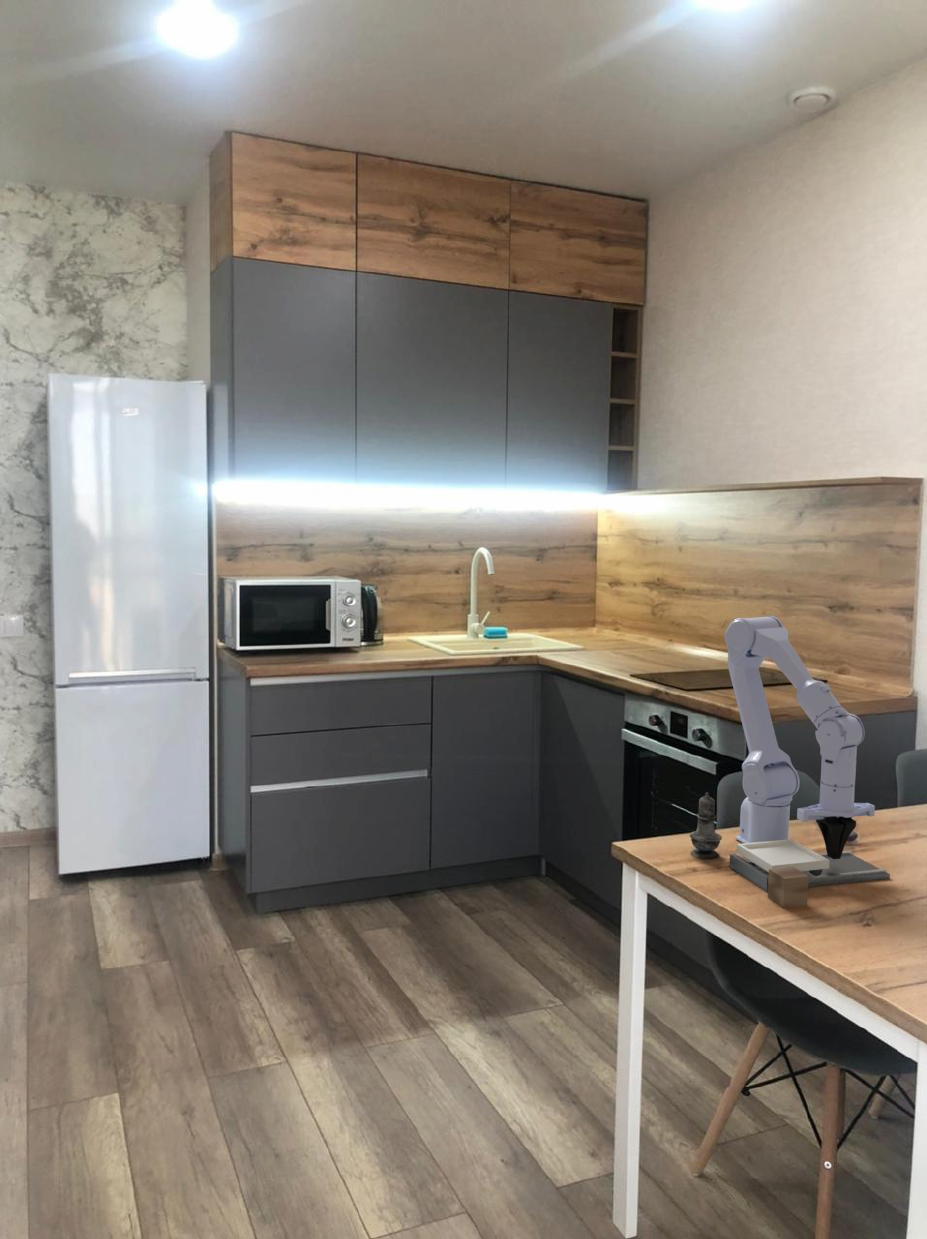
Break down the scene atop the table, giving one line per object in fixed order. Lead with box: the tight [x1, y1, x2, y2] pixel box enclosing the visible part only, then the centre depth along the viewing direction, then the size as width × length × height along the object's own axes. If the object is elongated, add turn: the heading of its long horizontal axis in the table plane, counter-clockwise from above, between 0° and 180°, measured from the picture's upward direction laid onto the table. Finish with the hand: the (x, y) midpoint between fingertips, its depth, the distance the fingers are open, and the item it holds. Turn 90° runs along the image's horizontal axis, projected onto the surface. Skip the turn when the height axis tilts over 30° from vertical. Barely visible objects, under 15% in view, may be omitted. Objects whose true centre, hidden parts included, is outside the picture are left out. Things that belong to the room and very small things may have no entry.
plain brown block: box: [767, 867, 809, 908], centre depth 165 cm, size 4×4×5 cm
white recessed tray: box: [736, 838, 829, 876], centre depth 176 cm, size 11×11×3 cm
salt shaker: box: [689, 791, 723, 860], centre depth 186 cm, size 6×6×12 cm
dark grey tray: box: [728, 850, 891, 893], centre depth 178 cm, size 12×24×2 cm, turn 106°
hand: (833, 857), depth 179 cm, fingers closed
